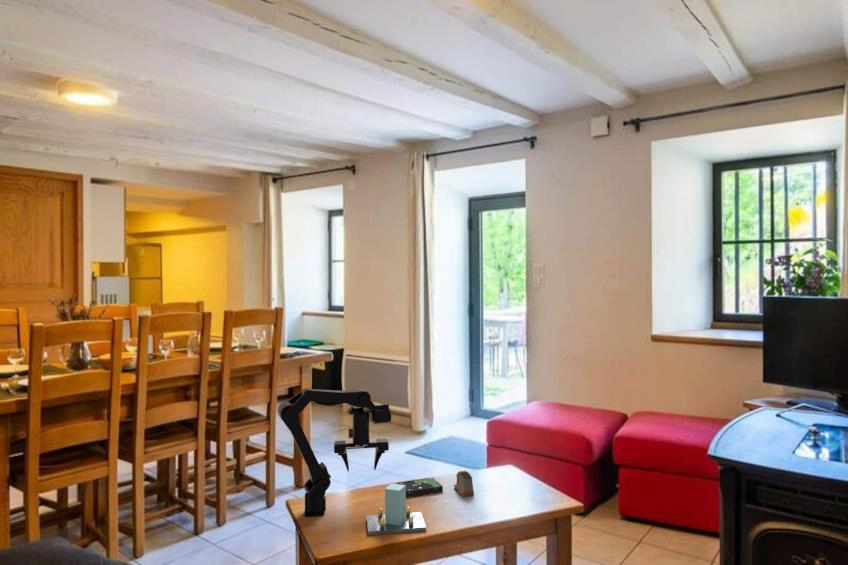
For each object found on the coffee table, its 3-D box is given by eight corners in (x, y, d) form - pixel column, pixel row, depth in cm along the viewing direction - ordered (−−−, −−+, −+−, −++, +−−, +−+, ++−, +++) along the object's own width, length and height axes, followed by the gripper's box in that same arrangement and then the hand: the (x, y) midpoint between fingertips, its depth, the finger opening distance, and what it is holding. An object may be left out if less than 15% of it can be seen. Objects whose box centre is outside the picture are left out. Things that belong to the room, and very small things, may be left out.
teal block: (385, 523, 182) (384, 488, 182) (391, 517, 187) (391, 483, 187) (399, 525, 180) (399, 490, 180) (405, 519, 185) (405, 485, 185)
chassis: (368, 535, 176) (368, 522, 176) (366, 519, 188) (366, 507, 188) (426, 531, 179) (426, 518, 179) (420, 515, 191) (420, 503, 191)
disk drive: (405, 499, 207) (443, 493, 212) (405, 491, 207) (443, 485, 212) (396, 489, 216) (433, 483, 222) (396, 482, 216) (432, 476, 222)
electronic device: (464, 486, 218) (463, 466, 217) (474, 495, 209) (474, 475, 208) (453, 488, 216) (452, 468, 216) (463, 497, 207) (463, 476, 207)
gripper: (386, 418, 210) (386, 461, 210) (334, 421, 207) (334, 464, 207) (388, 426, 199) (389, 471, 199) (333, 429, 196) (334, 474, 196)
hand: (361, 470), depth 200 cm, fingers open, 9 cm apart
